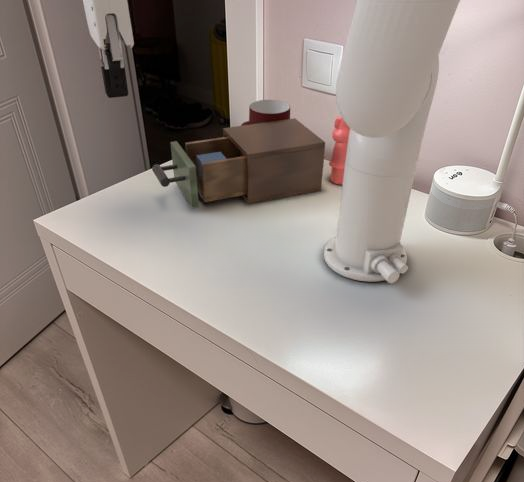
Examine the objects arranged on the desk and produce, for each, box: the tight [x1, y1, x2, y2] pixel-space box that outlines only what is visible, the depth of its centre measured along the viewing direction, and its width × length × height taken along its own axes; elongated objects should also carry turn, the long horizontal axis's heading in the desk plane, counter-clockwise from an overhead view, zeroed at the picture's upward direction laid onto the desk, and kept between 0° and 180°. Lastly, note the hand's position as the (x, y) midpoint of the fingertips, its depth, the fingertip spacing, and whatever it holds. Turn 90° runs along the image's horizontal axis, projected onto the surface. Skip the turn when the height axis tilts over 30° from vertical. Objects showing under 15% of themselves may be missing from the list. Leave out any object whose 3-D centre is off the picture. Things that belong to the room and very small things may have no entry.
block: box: [196, 152, 226, 185], centre depth 96 cm, size 5×5×5 cm
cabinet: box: [222, 117, 326, 205], centre depth 99 cm, size 15×13×9 cm
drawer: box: [151, 136, 247, 209], centre depth 95 cm, size 18×11×7 cm, turn 113°
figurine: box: [328, 116, 350, 186], centre depth 98 cm, size 5×5×15 cm
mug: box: [240, 99, 291, 126], centre depth 107 cm, size 11×8×10 cm
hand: (117, 95), depth 82 cm, fingers closed
